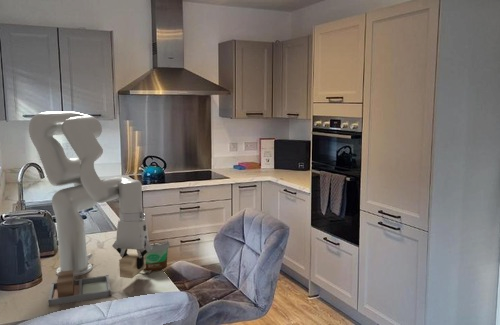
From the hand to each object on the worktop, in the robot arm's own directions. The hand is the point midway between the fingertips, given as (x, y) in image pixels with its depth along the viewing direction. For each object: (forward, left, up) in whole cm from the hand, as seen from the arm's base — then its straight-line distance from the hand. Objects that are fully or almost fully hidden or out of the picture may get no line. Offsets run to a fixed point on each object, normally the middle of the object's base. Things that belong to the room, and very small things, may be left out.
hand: (133, 266), depth 156 cm
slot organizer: (+11, -14, -6) cm, 18 cm away
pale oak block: (0, 0, -2) cm, 2 cm away
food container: (-13, +3, -6) cm, 14 cm away
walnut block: (+13, -18, -5) cm, 22 cm away
